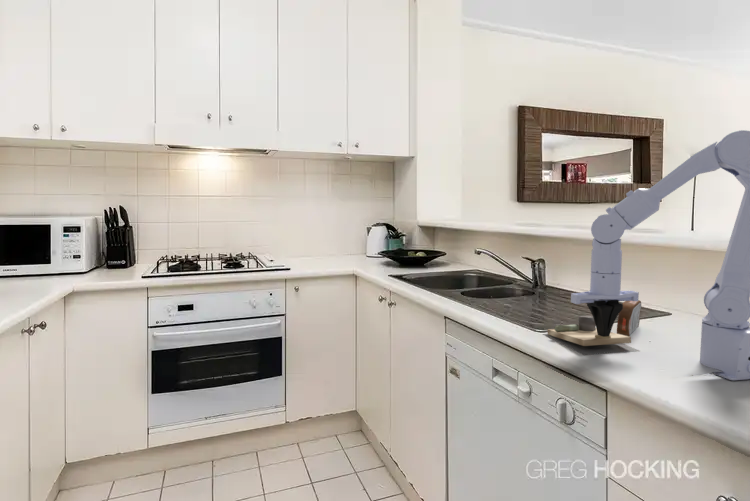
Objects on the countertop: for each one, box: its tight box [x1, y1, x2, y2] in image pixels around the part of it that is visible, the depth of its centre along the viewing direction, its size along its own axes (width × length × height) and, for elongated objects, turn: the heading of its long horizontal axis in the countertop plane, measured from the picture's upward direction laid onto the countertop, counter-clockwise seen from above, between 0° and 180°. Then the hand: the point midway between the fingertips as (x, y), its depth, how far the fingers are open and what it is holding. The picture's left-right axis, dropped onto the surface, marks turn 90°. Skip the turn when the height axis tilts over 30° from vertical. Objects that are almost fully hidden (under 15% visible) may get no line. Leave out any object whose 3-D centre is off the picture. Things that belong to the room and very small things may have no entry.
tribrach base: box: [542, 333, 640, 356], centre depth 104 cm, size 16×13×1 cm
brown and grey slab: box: [616, 299, 642, 337], centre depth 113 cm, size 15×3×8 cm, turn 141°
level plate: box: [547, 315, 632, 346], centre depth 104 cm, size 14×11×4 cm
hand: (603, 335), depth 99 cm, fingers closed, pressing on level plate
